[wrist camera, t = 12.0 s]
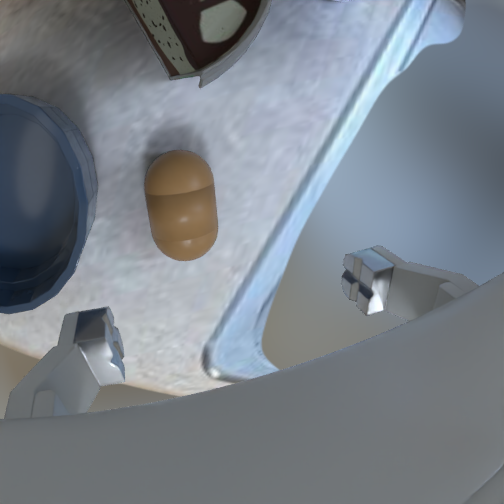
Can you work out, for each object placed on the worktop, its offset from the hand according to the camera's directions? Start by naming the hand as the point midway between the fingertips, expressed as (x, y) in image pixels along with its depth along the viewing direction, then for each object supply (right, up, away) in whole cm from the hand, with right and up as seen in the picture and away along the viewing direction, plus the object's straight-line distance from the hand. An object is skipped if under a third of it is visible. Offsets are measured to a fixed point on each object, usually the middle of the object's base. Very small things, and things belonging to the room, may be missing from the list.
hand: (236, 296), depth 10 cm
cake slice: (-5, +18, +7) cm, 20 cm away
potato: (-5, +5, +13) cm, 14 cm away
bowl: (-17, +6, +8) cm, 20 cm away
